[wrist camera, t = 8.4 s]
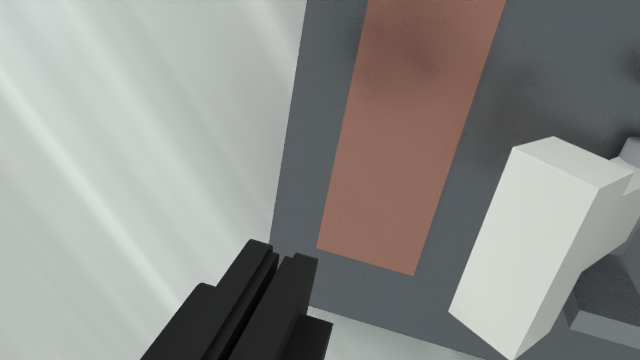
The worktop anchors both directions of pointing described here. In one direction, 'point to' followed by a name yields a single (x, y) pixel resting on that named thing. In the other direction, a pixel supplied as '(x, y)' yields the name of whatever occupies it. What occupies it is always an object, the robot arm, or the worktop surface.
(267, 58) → the worktop surface
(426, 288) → the breaker panel
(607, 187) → the toggle lever
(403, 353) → the worktop surface
